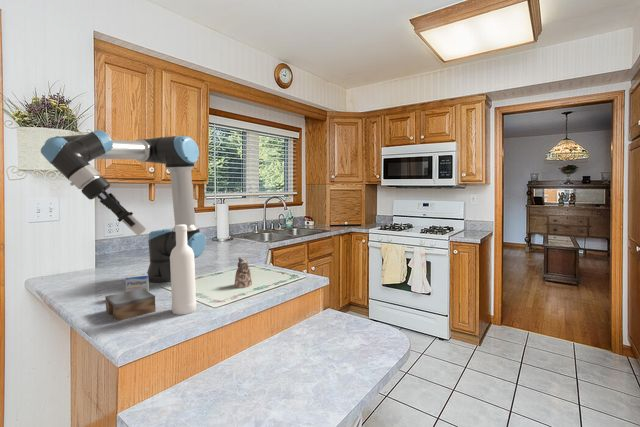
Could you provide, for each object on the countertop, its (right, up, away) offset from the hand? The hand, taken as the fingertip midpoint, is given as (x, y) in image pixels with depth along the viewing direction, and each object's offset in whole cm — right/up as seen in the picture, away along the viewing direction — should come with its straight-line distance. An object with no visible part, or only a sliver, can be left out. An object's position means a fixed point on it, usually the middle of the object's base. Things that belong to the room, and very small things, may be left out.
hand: (142, 232), depth 112 cm
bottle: (+12, -28, +6) cm, 31 cm away
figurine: (+25, -25, +35) cm, 50 cm away
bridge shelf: (-7, -28, +5) cm, 29 cm away
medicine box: (-13, -27, +21) cm, 36 cm away
